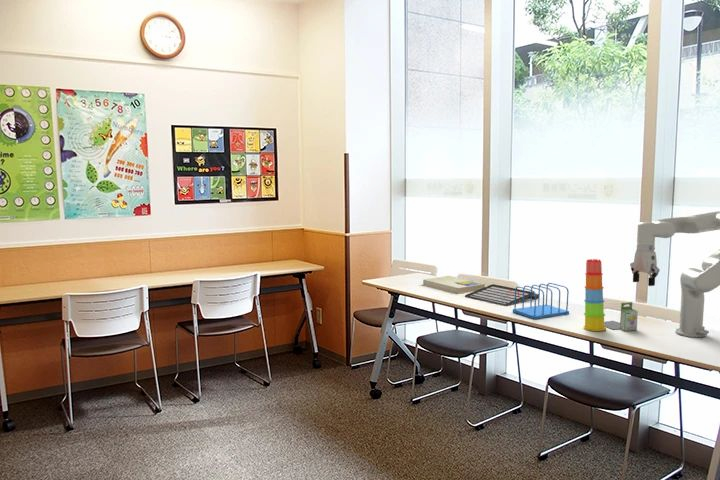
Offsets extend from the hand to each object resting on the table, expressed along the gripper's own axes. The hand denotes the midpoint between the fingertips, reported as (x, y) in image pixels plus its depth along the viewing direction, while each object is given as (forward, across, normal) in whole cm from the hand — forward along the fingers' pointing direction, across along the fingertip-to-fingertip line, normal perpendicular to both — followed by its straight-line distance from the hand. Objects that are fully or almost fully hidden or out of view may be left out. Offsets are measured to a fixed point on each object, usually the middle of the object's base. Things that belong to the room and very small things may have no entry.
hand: (643, 283), depth 272 cm
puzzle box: (+26, +129, +36) cm, 137 cm away
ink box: (+25, +8, +1) cm, 26 cm away
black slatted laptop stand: (+26, +91, +22) cm, 97 cm away
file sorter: (+25, +50, +22) cm, 60 cm away
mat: (+24, +16, +2) cm, 30 cm away
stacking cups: (+25, +14, +15) cm, 32 cm away
